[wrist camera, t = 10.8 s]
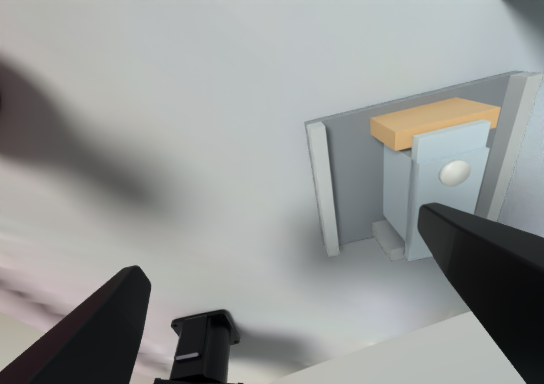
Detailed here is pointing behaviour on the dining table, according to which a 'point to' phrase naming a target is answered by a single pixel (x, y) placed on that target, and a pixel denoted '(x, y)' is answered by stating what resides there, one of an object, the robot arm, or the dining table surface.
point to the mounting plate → (398, 135)
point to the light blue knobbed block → (433, 177)
